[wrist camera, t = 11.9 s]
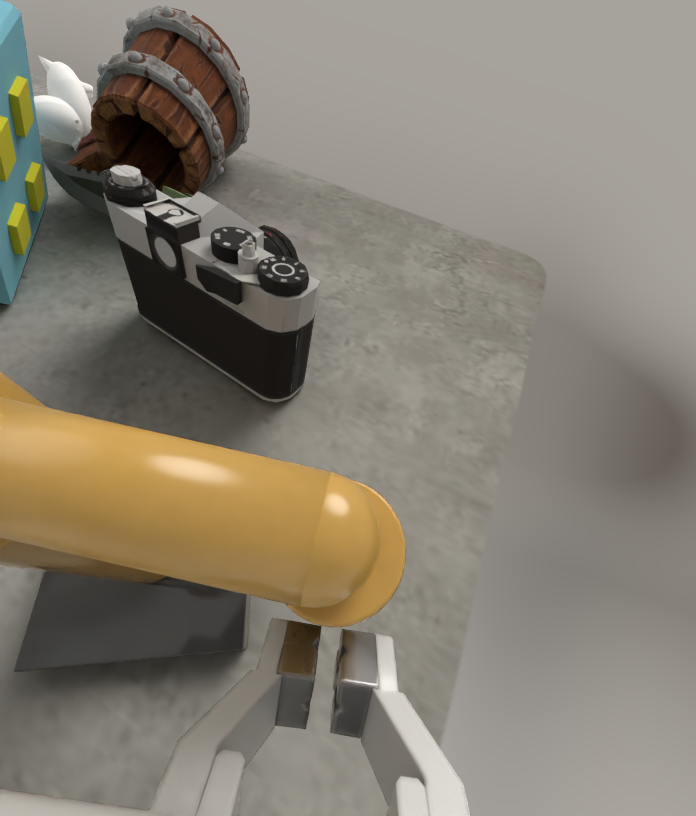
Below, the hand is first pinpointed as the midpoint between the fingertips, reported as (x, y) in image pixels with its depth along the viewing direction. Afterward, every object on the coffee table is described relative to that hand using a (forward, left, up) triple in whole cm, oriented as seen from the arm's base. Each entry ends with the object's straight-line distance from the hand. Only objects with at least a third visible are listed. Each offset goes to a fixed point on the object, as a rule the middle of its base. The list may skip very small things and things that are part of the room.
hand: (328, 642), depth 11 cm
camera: (+22, +5, -10) cm, 24 cm away
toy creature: (+49, +22, -8) cm, 54 cm away
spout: (+3, +5, -3) cm, 6 cm away
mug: (+48, +10, -4) cm, 49 cm away
